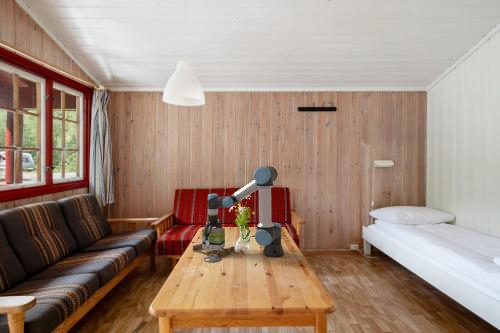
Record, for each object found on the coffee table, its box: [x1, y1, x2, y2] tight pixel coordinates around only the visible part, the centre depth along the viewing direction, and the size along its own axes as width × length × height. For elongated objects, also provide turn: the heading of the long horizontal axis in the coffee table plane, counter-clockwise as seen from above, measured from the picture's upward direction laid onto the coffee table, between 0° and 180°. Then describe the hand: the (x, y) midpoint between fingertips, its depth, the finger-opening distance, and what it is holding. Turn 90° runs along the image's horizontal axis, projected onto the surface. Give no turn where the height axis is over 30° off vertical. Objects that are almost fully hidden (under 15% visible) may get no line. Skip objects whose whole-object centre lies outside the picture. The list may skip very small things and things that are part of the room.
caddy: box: [192, 242, 236, 258], centre depth 236 cm, size 18×27×4 cm, turn 51°
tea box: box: [201, 226, 226, 251], centre depth 236 cm, size 15×10×15 cm, turn 73°
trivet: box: [203, 255, 222, 263], centre depth 217 cm, size 12×12×1 cm
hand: (213, 242), depth 236 cm, fingers closed on tea box, 12 cm apart
